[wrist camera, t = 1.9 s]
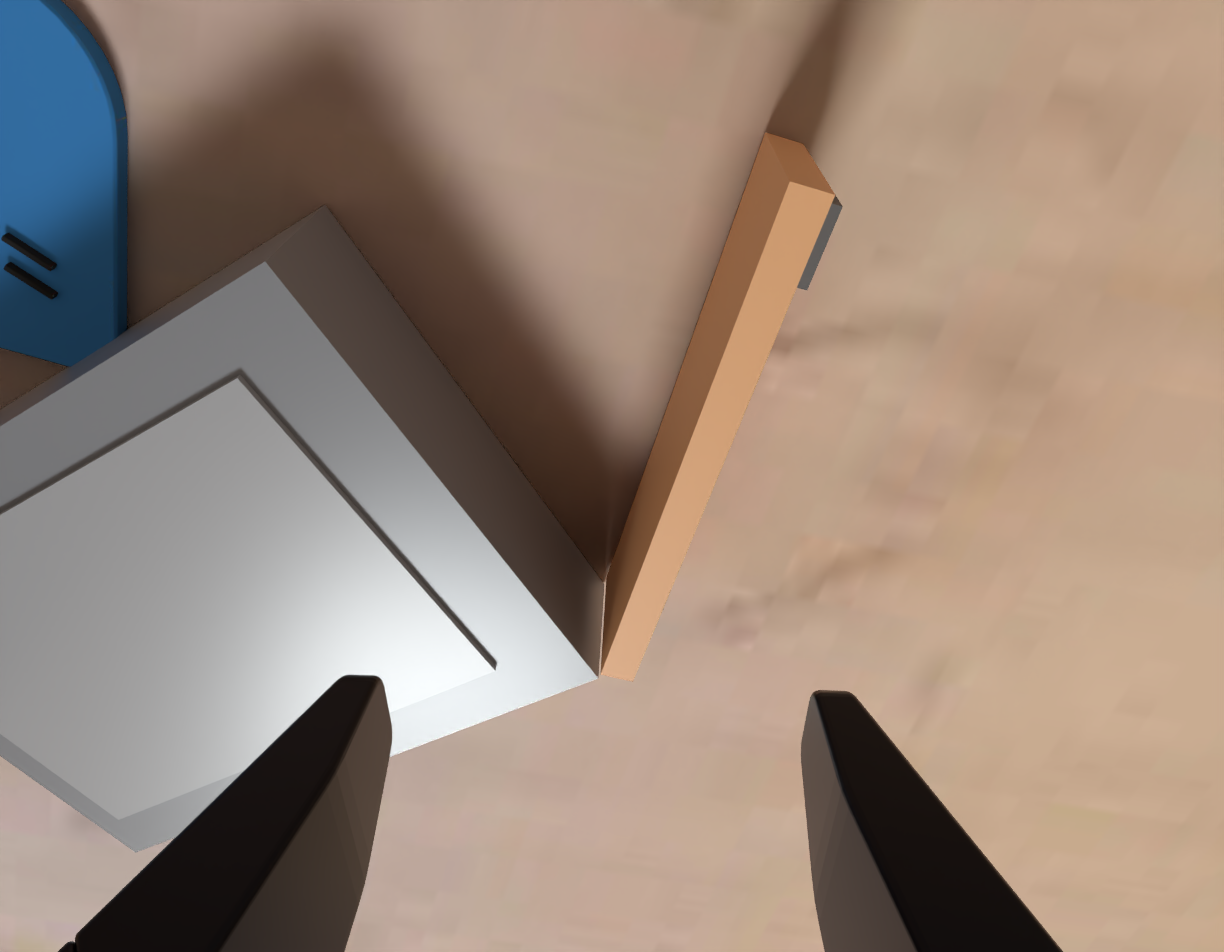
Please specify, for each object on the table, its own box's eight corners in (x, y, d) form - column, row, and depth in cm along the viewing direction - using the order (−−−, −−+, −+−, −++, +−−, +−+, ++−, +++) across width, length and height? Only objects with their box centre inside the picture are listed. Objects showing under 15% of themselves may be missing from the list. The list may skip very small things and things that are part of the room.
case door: (606, 576, 24) (600, 674, 21) (765, 132, 17) (790, 181, 14) (648, 586, 24) (648, 685, 21) (822, 149, 17) (857, 201, 14)
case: (187, 756, 29) (133, 857, 26) (-136, 495, 23) (-253, 584, 20) (604, 584, 24) (598, 682, 21) (325, 204, 19) (262, 264, 16)
